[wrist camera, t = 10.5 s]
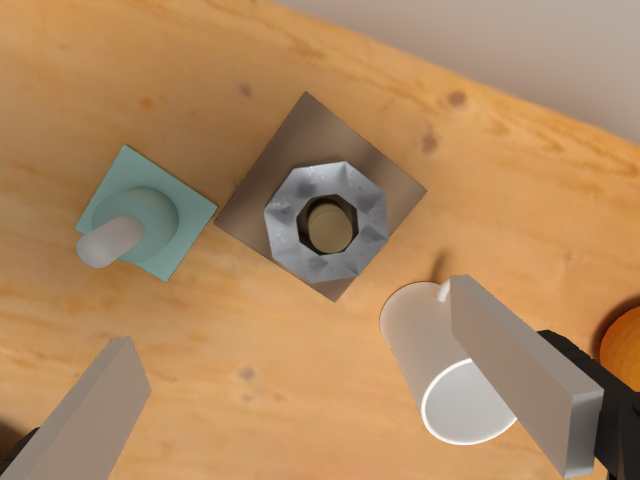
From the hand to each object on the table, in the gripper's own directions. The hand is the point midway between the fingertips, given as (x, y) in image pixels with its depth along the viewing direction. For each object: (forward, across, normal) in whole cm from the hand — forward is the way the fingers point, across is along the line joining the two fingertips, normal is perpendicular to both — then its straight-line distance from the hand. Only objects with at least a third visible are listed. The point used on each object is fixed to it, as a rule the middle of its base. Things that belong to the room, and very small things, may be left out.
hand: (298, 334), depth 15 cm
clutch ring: (+16, +3, 0) cm, 16 cm away
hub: (+19, +3, 0) cm, 19 cm away
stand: (+19, -13, +2) cm, 23 cm away
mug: (+19, +12, -12) cm, 26 cm away
